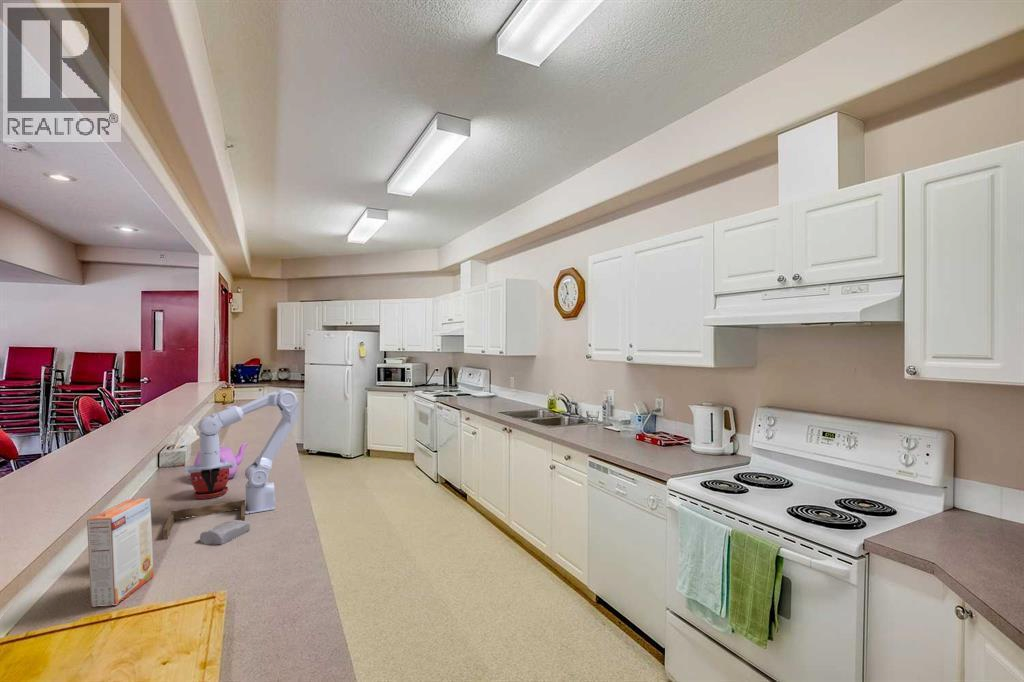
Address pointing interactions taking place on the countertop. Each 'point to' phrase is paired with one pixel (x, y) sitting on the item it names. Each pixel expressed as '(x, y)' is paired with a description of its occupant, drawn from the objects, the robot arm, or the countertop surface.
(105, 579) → the cracker box
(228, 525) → the stone block
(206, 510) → the brown wooden open frame
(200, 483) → the plant pot
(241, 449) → the teapot
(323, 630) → the countertop surface
